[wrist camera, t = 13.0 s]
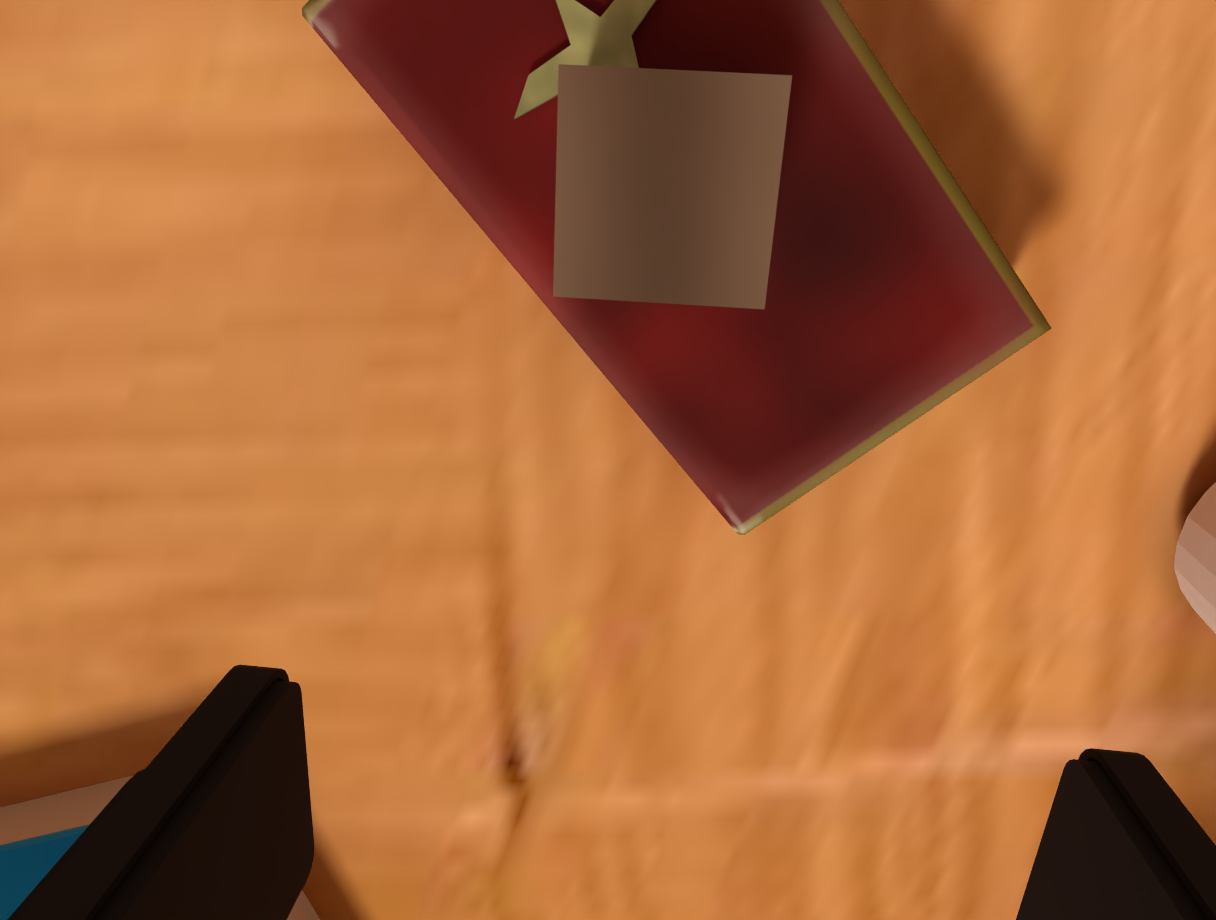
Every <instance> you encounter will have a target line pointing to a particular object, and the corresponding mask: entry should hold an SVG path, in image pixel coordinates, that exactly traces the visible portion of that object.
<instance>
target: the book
mask: <svg viewBox="0 0 1216 920" xmlns="http://www.w3.org/2000/svg"><path fill="white" fill-rule="evenodd" d="M133 776H134V775H132V776H128V777H124V778H120V779H116V780H111V781H107V782H103V783H99V784H95V785H91V786H87V787H83V788H78V789H74V790H70V791H66V792H62V793H58V794H54V795H49V796H45V797H41V798H37V799H33V800H29V801H25V802H21V803H16V804H12V805H8V806H4V807H0V920H7V919H8V918H9V917H10V916H11V915H12V913H13V912H14V911H15V910H16V909H17V908H18V907H19V905H20V904H21V903H22V902H23V901H24V900H25V898H26V897H27V896H28V895H29V894H30V893H31V892H32V890H33V889H34V888H35V887H36V886H37V885H38V884H39V882H40V881H41V880H42V879H43V878H44V877H45V875H46V874H47V873H48V872H49V871H50V870H51V869H52V867H53V866H54V865H55V864H56V863H57V862H58V861H59V859H60V858H61V857H62V856H63V855H64V854H65V852H66V851H67V850H68V849H69V848H70V847H71V846H72V844H73V843H74V842H75V841H76V840H77V839H78V837H79V836H80V835H81V834H82V833H83V832H84V831H85V829H86V828H87V827H88V826H89V825H90V824H91V823H92V821H93V820H94V819H95V818H96V817H97V816H98V814H99V813H100V812H101V811H102V810H103V809H104V808H105V806H106V805H107V804H108V803H109V802H110V801H111V800H112V798H113V797H114V796H115V795H116V794H117V793H118V791H119V790H120V789H121V788H122V787H123V786H124V785H125V783H126V782H127V781H128V780H129V779H131V778H132V777H133ZM287 920H320V918H319V917H318V915H317V913H316V912H315V910H314V908H313V907H312V905H311V903H310V902H309V900H308V898H307V897H306V895H305V894H304V892H303V890H302V891H301V892H300V894H299V896H298V898H297V900H296V902H295V904H294V906H293V908H292V910H291V912H290V914H289V916H288V918H287Z"/></svg>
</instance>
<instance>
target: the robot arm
mask: <svg viewBox="0 0 1216 920" xmlns="http://www.w3.org/2000/svg"><path fill="white" fill-rule="evenodd" d="M313 856H314V838H313V826H312V814H311V801H310V789H309V777H308V765H307V753H306V741H305V729H304V717H303V705H302V693H301V688H300V686H299V684H298V683H296V682H289V678H288V675H287V673H286V671H285V670H283V669H278V668H268V667H258V666H248V665H237V666H234V667H233V668H232V669H231V670H230V671H229V672H228V673H227V674H226V675H225V677H224V678H223V679H222V680H221V681H220V682H219V684H218V685H217V686H216V687H215V688H214V689H213V691H212V692H211V693H210V694H209V695H208V696H207V698H206V699H205V700H204V701H203V702H202V703H201V705H200V706H199V707H198V708H197V709H196V710H195V712H194V713H193V714H192V715H191V716H190V717H189V719H188V720H187V721H186V722H185V723H184V724H183V726H182V727H181V728H180V729H179V730H178V731H177V733H176V734H175V735H174V736H173V737H172V738H171V740H170V741H169V742H168V743H167V744H166V745H165V747H164V748H163V749H162V750H161V751H160V752H159V754H158V755H157V756H156V757H155V758H154V759H153V761H152V762H151V763H150V764H149V765H148V766H147V768H146V769H144V770H141V771H139V772H137V773H136V774H135V775H134V776H133V777H132V778H131V779H129V780H128V781H127V782H126V783H125V785H124V786H123V787H122V788H121V789H120V790H119V791H118V793H117V794H116V795H115V796H114V797H113V798H112V800H111V801H110V802H109V803H108V804H107V805H106V806H105V808H104V809H103V810H102V811H101V812H100V813H99V814H98V816H97V817H96V818H95V819H94V820H93V821H92V823H91V824H90V825H89V826H88V827H87V828H86V829H85V831H84V832H83V833H82V834H81V835H80V836H79V837H78V839H77V840H76V841H75V842H74V843H73V844H72V846H71V847H70V848H69V849H68V850H67V851H66V852H65V854H64V855H63V856H62V857H61V858H60V859H59V861H58V862H57V863H56V864H55V865H54V866H53V867H52V869H51V870H50V871H49V872H48V873H47V874H46V875H45V877H44V878H43V879H42V880H41V881H40V882H39V884H38V885H37V886H36V887H35V888H34V889H33V890H32V892H31V893H30V894H29V895H28V896H27V897H26V898H25V900H24V901H23V902H22V903H21V904H20V905H19V907H18V908H17V909H16V910H15V911H14V912H13V913H12V915H11V916H10V917H9V918H8V919H7V920H287V918H288V916H289V914H290V912H291V910H292V908H293V906H294V904H295V902H296V900H297V898H298V896H299V894H300V892H301V891H302V889H303V887H304V885H305V883H306V880H307V878H308V876H309V873H310V870H311V867H312V862H313ZM1016 920H1216V846H1215V844H1214V843H1213V842H1212V840H1211V839H1210V838H1209V837H1208V835H1207V834H1206V833H1205V831H1204V830H1203V829H1202V828H1201V826H1200V825H1199V824H1198V822H1197V821H1196V820H1195V819H1194V817H1193V816H1192V815H1191V813H1190V812H1189V811H1188V810H1187V808H1186V807H1185V806H1184V804H1183V803H1182V802H1181V801H1180V799H1179V798H1178V797H1177V795H1176V794H1175V793H1174V792H1173V790H1172V789H1171V788H1170V786H1169V785H1168V784H1167V783H1166V781H1165V780H1164V779H1163V777H1162V776H1161V775H1160V773H1159V772H1158V771H1157V770H1156V768H1155V767H1154V766H1153V764H1152V763H1151V762H1150V761H1149V760H1148V759H1147V758H1146V757H1145V756H1144V755H1141V754H1139V753H1132V752H1122V751H1112V750H1102V749H1092V748H1091V749H1086V750H1085V751H1084V752H1083V753H1081V755H1080V757H1079V759H1078V760H1075V759H1074V760H1069V761H1068V762H1067V763H1066V765H1065V767H1064V770H1063V773H1062V776H1061V779H1060V782H1059V785H1058V789H1057V792H1056V795H1055V798H1054V801H1053V804H1052V808H1051V811H1050V814H1049V817H1048V820H1047V823H1046V827H1045V830H1044V833H1043V836H1042V839H1041V842H1040V845H1039V849H1038V852H1037V855H1036V858H1035V861H1034V864H1033V868H1032V871H1031V874H1030V877H1029V880H1028V883H1027V887H1026V890H1025V893H1024V896H1023V899H1022V902H1021V905H1020V909H1019V912H1018V915H1017V918H1016Z"/></svg>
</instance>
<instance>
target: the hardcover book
mask: <svg viewBox="0 0 1216 920" xmlns="http://www.w3.org/2000/svg"><path fill="white" fill-rule="evenodd" d="M302 16H303V17H304V18H305V19H306V20H307V22H308V23H309V24H310V25H311V26H312V28H313V29H314V30H315V31H316V32H317V33H318V35H319V36H320V37H321V38H322V39H323V41H324V42H325V43H326V44H327V45H328V47H329V48H330V49H331V50H332V51H333V53H334V54H335V55H336V56H337V57H338V58H339V60H340V61H341V62H342V63H343V64H344V66H345V67H346V68H347V69H348V70H349V72H350V73H351V74H352V75H353V76H354V78H355V79H356V80H357V81H358V82H359V84H360V85H361V86H362V87H363V88H364V89H365V91H366V92H367V93H368V94H369V95H370V97H371V98H372V99H373V100H374V101H375V103H376V104H377V105H378V106H379V107H380V109H381V110H382V111H383V112H384V113H385V114H386V116H387V117H388V118H389V119H390V120H391V122H392V123H393V124H394V125H395V126H396V128H397V129H398V130H399V131H400V132H401V134H402V135H403V136H404V137H405V138H406V139H407V141H408V142H409V143H410V144H411V145H412V147H413V148H414V149H415V150H416V151H417V153H418V154H419V155H420V156H421V157H422V159H423V160H424V161H425V162H426V163H427V165H428V166H429V167H430V168H431V169H432V170H433V172H434V173H435V174H436V175H437V176H438V178H439V179H440V180H441V181H442V182H443V184H444V185H445V186H446V187H447V188H448V190H449V191H450V192H451V193H452V194H453V195H454V197H455V198H456V199H457V200H458V201H459V203H460V204H461V205H462V206H463V207H464V209H465V210H466V211H467V212H468V213H469V215H470V216H471V217H472V218H473V219H474V220H475V222H476V223H477V224H478V225H479V226H480V228H481V229H482V230H483V231H484V232H485V234H486V235H487V236H488V237H489V238H490V240H491V241H492V242H493V243H494V244H495V246H496V247H497V248H498V249H499V250H500V251H501V253H502V254H503V255H504V256H505V257H506V259H507V260H508V261H509V262H510V263H511V265H512V266H513V267H514V268H515V269H516V271H517V272H518V273H519V274H520V275H521V276H522V278H523V279H524V280H525V281H526V282H527V284H528V285H529V286H530V287H531V288H532V290H533V291H534V292H535V293H536V294H537V296H538V297H539V298H540V299H541V300H542V301H543V303H544V304H545V305H546V306H547V307H548V309H549V310H550V311H551V312H552V313H553V315H554V316H555V317H556V318H557V319H558V321H559V322H560V323H561V324H562V325H563V327H564V328H565V329H566V330H567V331H568V332H569V334H570V335H571V336H572V337H573V338H574V340H575V341H576V342H577V343H578V344H579V346H580V347H581V348H582V349H583V350H584V352H585V353H586V354H587V355H588V356H589V357H590V359H591V360H592V361H593V362H594V363H595V365H596V366H597V367H598V368H599V369H600V371H601V372H602V373H603V374H604V375H605V377H606V378H607V379H608V380H609V381H610V382H611V384H612V385H613V386H614V387H615V388H616V390H617V391H618V392H619V393H620V394H621V396H622V397H623V398H624V399H625V400H626V402H627V403H628V404H629V405H630V406H631V408H632V409H633V410H634V411H635V412H636V413H637V415H638V416H639V417H640V418H641V419H642V421H643V422H644V423H645V424H646V425H647V427H648V428H649V429H650V430H651V431H652V433H653V434H654V435H655V436H656V437H657V438H658V440H659V441H660V442H661V443H662V444H663V446H664V447H665V448H666V449H667V450H668V452H669V453H670V454H671V455H672V456H673V458H674V459H675V460H676V461H677V462H678V463H679V465H680V466H681V467H682V468H683V469H684V471H685V472H686V473H687V474H688V475H689V477H690V478H691V479H692V480H693V481H694V483H695V484H696V485H697V486H698V487H699V489H700V490H701V491H702V492H703V493H704V494H705V496H706V497H707V498H708V499H709V500H710V502H711V503H712V504H713V505H714V506H715V508H716V509H717V510H718V511H719V512H720V514H721V515H722V516H723V517H724V518H725V519H726V521H727V522H728V523H729V524H730V525H731V527H732V528H733V529H734V530H735V531H736V533H737V534H741V535H745V534H746V533H748V532H749V531H751V530H752V529H754V528H755V527H757V526H758V525H760V524H761V523H763V522H764V521H766V520H767V519H769V518H770V517H772V516H773V515H775V514H776V513H778V512H779V511H781V510H782V509H784V508H785V507H787V506H788V505H790V504H791V503H792V502H794V501H795V500H797V499H798V498H800V497H801V496H803V495H804V494H806V493H807V492H809V491H810V490H812V489H813V488H815V487H816V486H818V485H819V484H821V483H822V482H824V481H825V480H827V479H828V478H830V477H831V476H833V475H834V474H836V473H837V472H839V471H840V470H842V469H843V468H845V467H846V466H848V465H849V464H851V463H852V462H853V461H855V460H856V459H858V458H859V457H861V456H862V455H864V454H865V453H867V452H868V451H870V450H871V449H873V448H874V447H876V446H877V445H879V444H880V443H882V442H883V441H885V440H886V439H888V438H889V437H891V436H892V435H894V434H895V433H897V432H898V431H900V430H901V429H903V428H904V427H906V426H907V425H909V424H910V423H912V422H913V421H915V420H916V419H917V418H919V417H920V416H922V415H923V414H925V413H926V412H928V411H929V410H931V409H932V408H934V407H935V406H937V405H938V404H940V403H941V402H943V401H944V400H946V399H947V398H949V397H950V396H952V395H953V394H955V393H956V392H958V391H959V390H961V389H962V388H964V387H965V386H967V385H968V384H970V383H971V382H973V381H974V380H976V379H977V378H978V377H980V376H981V375H983V374H984V373H986V372H987V371H989V370H990V369H992V368H993V367H995V366H996V365H998V364H999V363H1001V362H1002V361H1004V360H1005V359H1007V358H1008V357H1010V356H1011V355H1013V354H1014V353H1016V352H1017V351H1019V350H1020V349H1022V348H1023V347H1025V346H1026V345H1028V344H1029V343H1031V342H1032V341H1034V340H1035V339H1037V338H1038V337H1039V336H1041V335H1042V334H1044V333H1045V332H1047V331H1048V330H1050V329H1051V327H1050V325H1049V324H1048V322H1047V321H1046V319H1045V317H1044V316H1043V314H1042V313H1041V311H1040V310H1039V308H1038V307H1037V305H1036V304H1035V302H1034V301H1033V299H1032V297H1031V296H1030V294H1029V293H1028V291H1027V290H1026V288H1025V287H1024V285H1023V284H1022V282H1021V281H1020V279H1019V277H1018V276H1017V274H1016V273H1015V271H1014V270H1013V268H1012V267H1011V265H1010V264H1009V262H1008V261H1007V259H1006V257H1005V256H1004V254H1003V253H1002V251H1001V250H1000V248H999V247H998V245H997V244H996V242H995V240H994V239H993V237H992V236H991V234H990V233H989V231H988V230H987V228H986V227H985V225H984V224H983V222H982V220H981V219H980V217H979V216H978V214H977V213H976V211H975V210H974V208H973V207H972V205H971V204H970V202H969V200H968V199H967V197H966V196H965V194H964V193H963V191H962V190H961V188H960V187H959V185H958V184H957V182H956V180H955V179H954V177H953V176H952V174H951V173H950V171H949V170H948V168H947V167H946V165H945V163H944V162H943V160H942V159H941V157H940V156H939V154H938V153H937V151H936V150H935V148H934V147H933V145H932V143H931V142H930V140H929V139H928V137H927V136H926V134H925V133H924V131H923V130H922V128H921V127H920V125H919V123H918V122H917V120H916V119H915V117H914V116H913V114H912V113H911V111H910V110H909V108H908V107H907V105H906V103H905V102H904V100H903V99H902V97H901V96H900V94H899V93H898V91H897V90H896V88H895V86H894V85H893V83H892V82H891V80H890V79H889V77H888V76H887V74H886V73H885V71H884V70H883V68H882V66H881V65H880V63H879V62H878V60H877V59H876V57H875V56H874V54H873V53H872V51H871V50H870V48H869V46H868V45H867V43H866V42H865V40H864V39H863V37H862V36H861V34H860V33H859V31H858V30H857V28H856V26H855V25H854V23H853V22H852V20H851V19H850V17H849V16H848V14H847V13H846V11H845V9H844V8H843V6H842V5H841V3H840V2H839V0H309V1H308V2H307V3H306V4H305V6H304V7H303V8H302ZM559 64H566V65H586V66H607V67H628V68H648V69H669V70H689V71H710V72H731V73H751V74H772V75H792V82H791V90H790V98H789V107H788V115H787V124H786V132H785V141H784V149H783V158H782V166H781V175H780V183H779V192H778V200H777V209H776V217H775V225H774V234H773V242H772V251H771V259H770V268H769V276H768V285H767V293H766V302H765V309H751V308H734V307H718V306H701V305H685V304H668V303H652V302H635V301H619V300H602V299H586V298H569V297H553V279H554V237H555V194H556V152H557V109H558V67H559Z"/></svg>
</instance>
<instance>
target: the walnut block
mask: <svg viewBox="0 0 1216 920" xmlns="http://www.w3.org/2000/svg"><path fill="white" fill-rule="evenodd" d="M791 82H792V75H772V74H751V73H731V72H710V71H689V70H669V69H648V68H628V67H607V66H586V65H566V64H559V67H558V109H557V152H556V194H555V237H554V279H553V297H569V298H586V299H602V300H619V301H635V302H652V303H668V304H685V305H701V306H718V307H734V308H751V309H765V302H766V293H767V285H768V276H769V268H770V259H771V251H772V242H773V234H774V225H775V217H776V209H777V200H778V192H779V183H780V175H781V166H782V158H783V149H784V141H785V132H786V124H787V115H788V107H789V98H790V90H791Z"/></svg>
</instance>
